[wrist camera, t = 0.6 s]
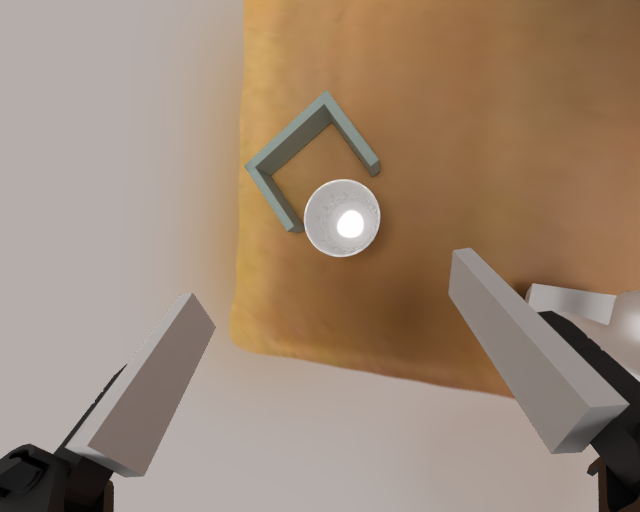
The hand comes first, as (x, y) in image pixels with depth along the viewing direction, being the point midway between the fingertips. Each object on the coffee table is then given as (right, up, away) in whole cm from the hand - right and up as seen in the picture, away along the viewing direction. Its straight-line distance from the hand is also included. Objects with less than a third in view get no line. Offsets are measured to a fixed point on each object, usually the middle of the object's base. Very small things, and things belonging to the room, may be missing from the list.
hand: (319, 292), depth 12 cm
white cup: (+5, +6, +22) cm, 23 cm away
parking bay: (0, +14, +22) cm, 26 cm away
